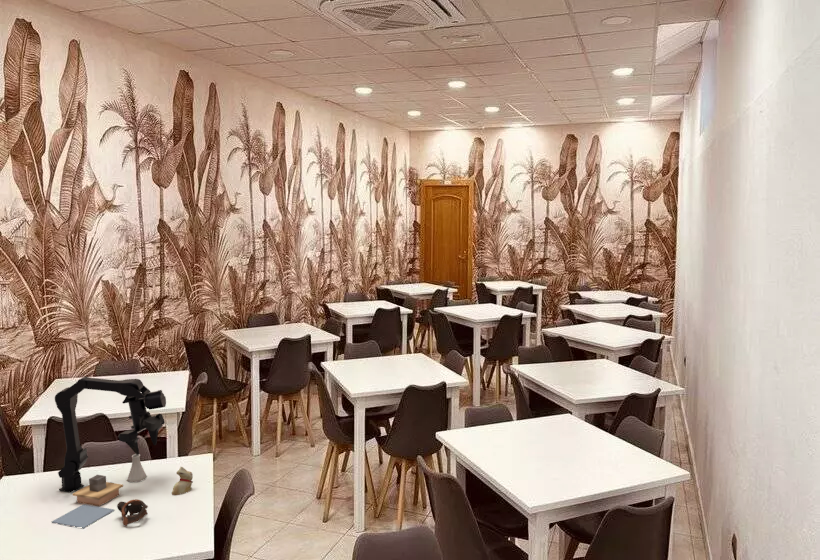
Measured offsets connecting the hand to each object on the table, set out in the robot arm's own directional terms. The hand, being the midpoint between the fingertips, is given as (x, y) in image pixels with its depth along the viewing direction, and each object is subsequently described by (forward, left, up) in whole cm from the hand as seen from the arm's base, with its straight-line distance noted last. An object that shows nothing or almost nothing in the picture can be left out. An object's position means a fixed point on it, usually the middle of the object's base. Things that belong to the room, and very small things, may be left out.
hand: (146, 449), depth 245 cm
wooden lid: (-9, -15, -12) cm, 21 cm away
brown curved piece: (+15, -25, -15) cm, 33 cm away
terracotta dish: (-9, -15, -15) cm, 23 cm away
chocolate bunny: (+17, 0, -15) cm, 22 cm away
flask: (-8, +4, -15) cm, 17 cm away
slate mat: (-3, -28, -15) cm, 32 cm away
